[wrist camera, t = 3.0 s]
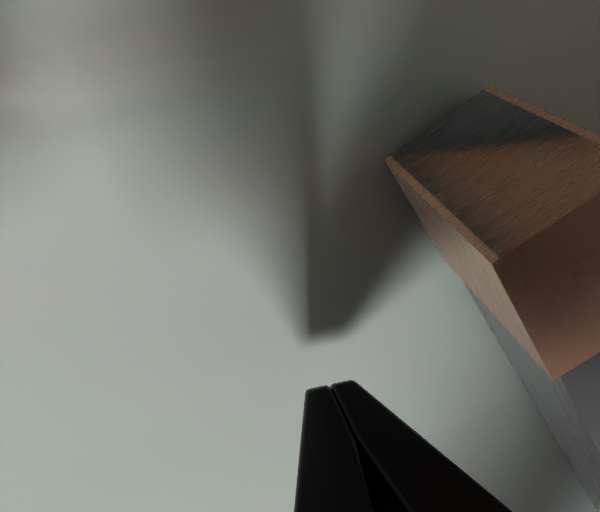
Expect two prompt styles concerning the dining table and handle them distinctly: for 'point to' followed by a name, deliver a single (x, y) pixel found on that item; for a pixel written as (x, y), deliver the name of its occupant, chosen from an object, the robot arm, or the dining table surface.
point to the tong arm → (523, 248)
